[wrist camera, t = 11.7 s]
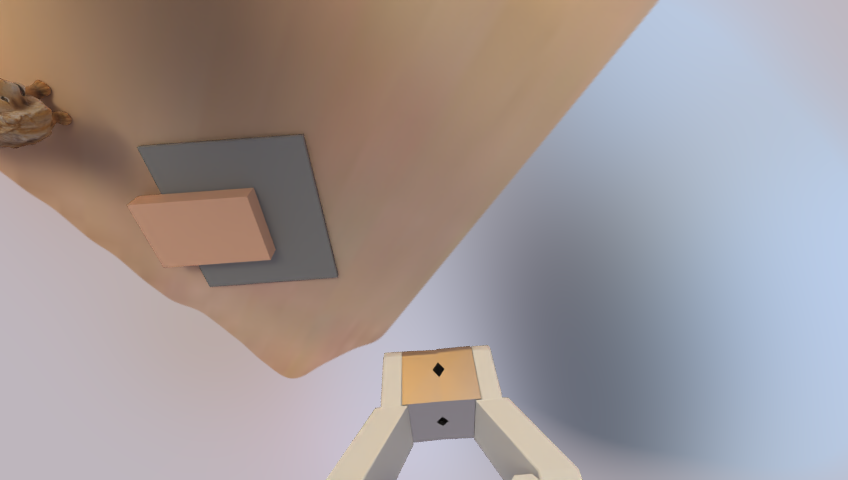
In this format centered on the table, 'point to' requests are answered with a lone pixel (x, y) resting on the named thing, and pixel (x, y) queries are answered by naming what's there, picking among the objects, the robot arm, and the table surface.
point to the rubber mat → (277, 194)
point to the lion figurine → (26, 114)
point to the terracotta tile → (204, 227)
